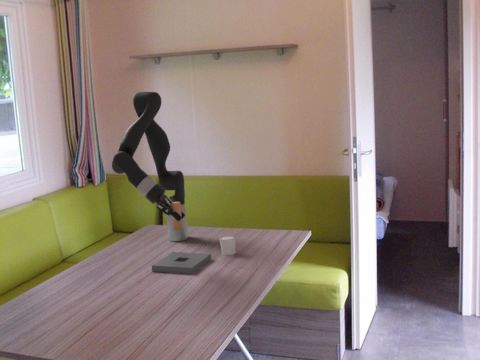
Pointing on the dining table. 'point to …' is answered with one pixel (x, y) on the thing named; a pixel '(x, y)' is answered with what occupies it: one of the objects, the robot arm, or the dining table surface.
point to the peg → (177, 208)
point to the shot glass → (227, 245)
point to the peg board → (181, 262)
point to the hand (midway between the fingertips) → (182, 218)
